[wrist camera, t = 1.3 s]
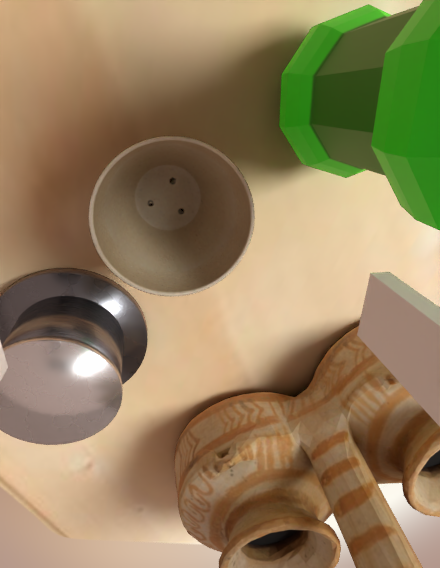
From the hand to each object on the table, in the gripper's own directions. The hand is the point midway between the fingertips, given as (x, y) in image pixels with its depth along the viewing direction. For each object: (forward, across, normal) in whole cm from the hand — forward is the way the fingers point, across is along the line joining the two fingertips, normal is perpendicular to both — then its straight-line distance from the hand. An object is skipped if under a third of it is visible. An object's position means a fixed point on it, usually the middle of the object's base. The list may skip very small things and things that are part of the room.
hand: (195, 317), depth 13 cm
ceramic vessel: (+18, +15, -24) cm, 34 cm away
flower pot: (+18, 0, 0) cm, 18 cm away
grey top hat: (+18, -9, -12) cm, 23 cm away
